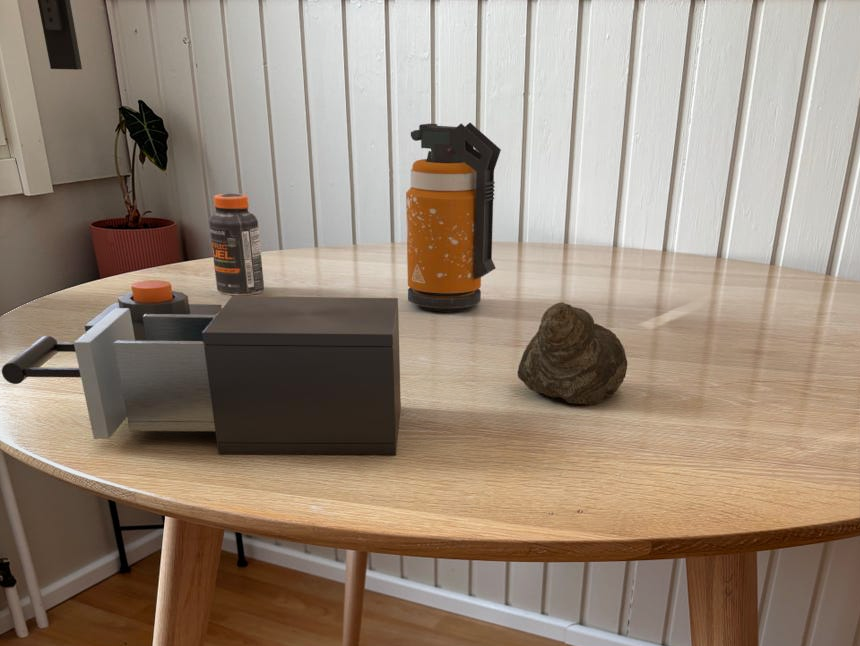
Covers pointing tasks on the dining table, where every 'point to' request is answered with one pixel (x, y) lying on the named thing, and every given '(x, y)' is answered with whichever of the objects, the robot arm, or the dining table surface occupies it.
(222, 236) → the pill bottle
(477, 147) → the canister
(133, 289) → the button
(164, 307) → the control block
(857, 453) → the dining table surface
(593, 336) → the seashell
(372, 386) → the drawer cabinet
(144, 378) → the dispenser drawer
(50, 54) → the robot arm
